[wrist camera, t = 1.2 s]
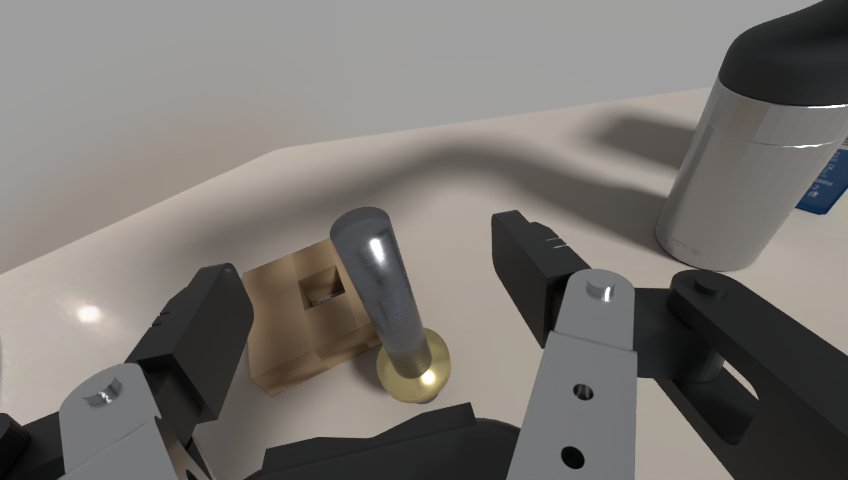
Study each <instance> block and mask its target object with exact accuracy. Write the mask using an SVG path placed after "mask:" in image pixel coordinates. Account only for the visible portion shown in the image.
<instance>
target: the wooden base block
mask: <svg viewBox="0 0 848 480" xmlns="http://www.w3.org/2000/svg"><path fill="white" fill-rule="evenodd" d="M243 283H244V288H245V290H246V292H247V294H248V296H249V298H250V300H251V303H252V305H253V310H254V322H253V325H252V328H251V330H250V333H249V336H248V338H247V341H248V355H249V369H250V379H251V380H252V381H253V382H254V383H256V384H257V385H258V386H259V387H260V388H261V389H263V390H264V391H265V392H266V393H267V394H269V395H270V396H271V397H272V396H274V395H276V394H278V393H280V392H282V391H284V390H286V389H288V388H290V387H292V386H294V385H296V384H298V383H300V382H303V381H305V380H307V379H309V378H311V377H313V376H315V375H317V374H319V373H321V372H323V371H325V370H327V369H329V368H331V367H334V366H336V365H338V364H340V363H342V362H344V361H346V360H348V359H350V358H352V357H354V356H356V355H358V354H360V353H362V352H365V351H367V350H369V349H371V348H373V347H375V346H377V345H379V344H381V341H380V338H379V336H378V334H377V332H376V330H375V328H374V326H373V324H372V322H371V320H370V318H369V316H368V314H367V312H366V310H365V308H364V306H363V304H362V302H361V300H360V298H359V296H358V294H357V292H356V290H355V288H354V286H353V284H352V282H351V280H350V278H349V275H348V273H347V271H346V269H345V267H344V265H343V263H342V261H341V259H340V257H339V255H338V253H337V251H336V249H335V247H334V245H333V243H332V241H331V239H330V238H328V239H326V240H323V241H321V242H319V243H316V244H314V245H311V246H309V247H306V248H304V249H302V250H299V251H297V252H294V253H292V254H289V255H287V256H285V257H282V258H280V259H277V260H275V261H272V262H270V263H268V264H265V265H263V266H260V267H258V268H255V269H253V270H251V271H248V272H246V273H243ZM343 288H344V289H345V293H343V294H341V295H338V296H336V297H334V298H332V299H329V300H327V301H325V302H323V303H320V304H318V305H316V306H314V307H313V305H312V302H313V301H316V300H318V299H320V298H322V297H325V296H327V295H329V294H331V293H334V292H336V291H338V290H340V289H343Z"/></svg>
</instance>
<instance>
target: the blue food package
mask: <svg viewBox="0 0 848 480" xmlns="http://www.w3.org/2000/svg"><path fill="white" fill-rule="evenodd" d="M847 188H848V136H847V138H846V139H845V140H844V142H843V143H842V144H841V146H840V147H839V148H838V150H837V151H836V152H835V154H834V155H833V156H832V158H831V159H830V161H829V162H828V163H827V165H826V166H825V167H824V169H823V170H822V171H821V173H820V174H819V175H818V177H817V178H816V179H815V181H814V182H813V183H812V185H811V186H810V187H809V189H808V190H807V191H806V193H805V194H804V196H803V197H802V198H801V200H800V201H799V202H798V204H797V205H796V206H795V207H799V208H802V209H805V210H809V211H812V212H816V213H819V214H826V213H827V212H828V211H829V210H830V209H831V207H832V206H833V205H834V204H835V203H836V202H837V200H838V199H839V198H840V197H841V196H842V194H843V193H844V192H845V191H846V190H847Z"/></svg>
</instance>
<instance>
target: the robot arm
mask: <svg viewBox="0 0 848 480" xmlns="http://www.w3.org/2000/svg"><path fill="white" fill-rule="evenodd" d="M847 136H848V0H823V1H821V2H819V3H816V4H814V5H812V6H810V7H807V8H805V9H802V10H800V11H797V12H794V13H791V14H789V15H785V16H782V17H780V18H776V19H774V20H771V21H768V22H764V23H762V24H759V25H757V26H755V27H752V28H750V29H748V30H747V31H745V32H744V33H742V34H741V35H739V36H738V37H737V38H736V39H735V40H734V42H733V43H732V44H731V46H730V47H729V49H728V51H727V54H726V56H725V58H724V61H723V63H722V66H721V68H720V71H719V74H718V76H717V79H716V81H715V84H714V86H713V88H712V91H711V93H710V96H709V98H708V101H707V103H706V106H705V108H704V111H703V113H702V116H701V118H700V121H699V123H698V126H697V128H696V131H695V133H694V135H693V138H692V140H691V143H690V145H689V148H688V150H687V152H686V155H685V157H684V160H683V162H682V165H681V167H680V170H679V172H678V174H677V177H676V179H675V182H674V184H673V187H672V189H671V191H670V194H669V196H668V199H667V201H666V203H665V206H664V208H663V211H662V213H661V216H660V218H659V221H658V223H657V226H656V230H655V232H656V238H657V240H658V242H659V244H660V245H661V246H662V247H663V248H664V250H666V251H667V252H668V253H669V254H670V255H672V256H673V257H675V258H677V259H678V260H680V261H682V262H684V263H687V264H689V265H691V266H695V267H698V268H701V269H706V270H712V271H733V270H738V269H742V268H745V267H747V266H749V265H750V264H752V263H753V262H754V261H755V260H756V258H757V257H758V256H759V254H760V253H761V252H762V250H763V249H764V248H765V246H766V245H767V244H768V242H769V241H770V240H771V238H772V237H773V236H774V234H775V233H776V232H777V231H778V229H779V228H780V227H781V225H782V224H783V222H784V221H785V220H786V218H787V217H788V216H789V214H790V213H791V212H792V210H793V209H794V208H795V206H796V205H797V204H798V202H799V201H800V200H801V198H802V197H803V196H804V194H805V193H806V191H807V190H808V189H809V187H810V186H811V185H812V183H813V182H814V181H815V179H816V178H817V177H818V175H819V174H820V173H821V171H822V170H823V169H824V167H825V166H826V165H827V163H828V162H829V161H830V159H831V158H832V156H833V155H834V154H835V152H836V151H837V150H838V148H839V147H840V146H841V144H842V143H843V142H844V140H845V139H846V138H847ZM491 226H492V258H493V264H494V268H495V271H496V273H497V275H498V277H499V279H500V280H501V282H502V284H503V285H504V287H505V289H506V290H507V292H508V294H509V295H510V297H511V299H512V300H513V302H514V304H515V305H516V307H517V308H518V310H519V312H520V313H521V315H522V317H523V318H524V320H525V322H526V323H527V325H528V327H529V328H530V330H531V332H532V333H533V335H534V337H535V338H536V340H537V342H538V343H539V345H540V347H541V348H542V349H544V348H545V349H544V352H543V356H542V359H541V362H540V366H539V369H538V373H537V376H536V380H535V383H534V386H533V390H532V393H531V397H530V400H529V403H528V407H527V410H526V414H525V417H524V420H523V424H522V427H521V428H518V427H516V426H513V425H511V424H508V423H505V422H501V421H498V420H493V419H486V418H475V416H474V412H473V409H472V406H471V403H470V402H468V403H464V404H460V405H455V406H451V407H447V408H442V409H438V410H434V411H429V412H425V413H421V414H419V415H417V416H415V417H413V418H411V419H409V420H407V421H405V422H403V423H401V424H399V425H397V426H395V427H393V428H391V429H389V430H387V431H385V432H383V433H381V434H379V435H377V436H375V437H372V438H334V437H316V438H312V439H308V440H303V441H299V442H294V443H290V444H286V445H281V446H277V447H273V448H268V449H266V452H265V456H264V461H263V465H262V469H261V470H259V471H257V472H255V473H253V474H252V475H250V476H248V477H247V478H245V479H244V480H634V477H635V436H636V396H637V377H639V378H654V380H655V381H656V382H657V383H658V385H659V386H660V387H661V388H662V390H663V391H664V392H665V393H666V395H667V396H668V397H669V398H670V400H671V401H672V402H673V403H674V405H675V406H676V407H677V408H678V410H679V411H680V412H681V413H682V415H683V416H684V417H685V418H686V420H687V421H688V422H689V423H690V425H691V426H692V427H693V428H694V430H695V431H696V432H697V433H698V435H699V436H700V437H701V438H702V440H703V441H704V442H705V443H706V445H707V446H708V447H709V448H710V450H711V451H712V452H713V453H714V455H715V456H716V457H717V458H718V460H719V461H720V462H721V463H722V465H723V466H724V467H725V468H726V470H727V471H728V472H729V473H730V475H731V476H732V477H733V478H734V480H848V356H847V355H845V354H844V353H843V352H841V351H840V350H838V349H837V348H835V347H834V346H832V345H831V344H829V343H828V342H826V341H825V340H823V339H822V338H820V337H819V336H818V335H816V334H815V333H813V332H812V331H810V330H809V329H807V328H806V327H804V326H803V325H801V324H800V323H798V322H797V321H796V320H794V319H793V318H791V317H790V316H788V315H787V314H785V313H784V312H782V311H781V310H779V309H778V308H776V307H775V306H773V305H772V304H771V303H769V302H768V301H766V300H765V299H763V298H762V297H760V296H759V295H757V294H756V293H754V292H753V291H751V290H750V289H748V288H747V287H746V286H744V285H743V284H741V283H740V282H738V281H736V280H734V279H732V278H730V277H728V276H725V275H723V274H719V273H716V272H712V271H706V270H685V271H681V272H678V273H677V274H675V275H674V276H673V278H672V281H671V285H670V288H669V289H663V288H634V287H633V285H632V284H631V283H630V282H629V281H628V280H627V279H626V278H624V277H623V276H621V275H619V274H617V273H614V272H611V271H607V270H602V269H592V268H591V267H590V266H589V265H588V264H587V263H586V262H585V261H583V260H582V259H581V258H580V257H579V256H578V255H577V254H576V253H575V252H574V251H573V250H572V249H571V248H570V247H569V246H567V245H566V243H565V242H564V241H563V240H562V239H559V236H558V235H556V234H555V233H554V232H553V231H552V230H551V229H550V228H549V227H546V226H544V225H542V224H540V223H537V222H532V223H529V222H528V221H527V220H526V219H525V218H524V217H523V215H522V214H521V213H520V212H519V211H518V210H513V211H507V212H502V213H497V214H493V215H492V220H491ZM253 322H254V310H253V305H252V303H251V300H250V298H249V296H248V294H247V292H246V290H245V288H244V286H243V284H242V281H241V279H240V277H239V275H238V273H237V271H236V269H235V267H234V266H233V265H232V264H230V263H225V264H219V265H214V266H208V267H203V268H201V269H200V270H199V271H198V272H197V274H196V275H195V277H194V278H193V279H192V281H191V282H190V284H189V285H188V287H186V288H184V289H183V290H182V291H180V292H179V293H178V294H177V295H175V296H174V297H173V298H172V299H170V300H169V302H168V303H167V304H166V306H165V307H164V308H163V310H162V311H161V313H160V316H158V317H157V318H156V319H155V321H154V322H153V324H152V327H150V328H149V329H148V330H147V332H146V333H145V335H144V336H143V337H142V339H141V340H140V341H139V343H138V344H137V345H136V347H135V348H134V350H133V351H132V352H131V354H130V355H129V356H128V358H127V359H126V361H125V362H124V363H123V364H119V365H116V366H113V367H110V368H107V369H105V370H103V371H101V372H99V373H97V374H95V375H94V376H92V377H90V378H89V379H87V380H86V381H84V382H83V383H82V384H80V385H79V386H78V387H77V388H76V389H74V390H73V391H72V392H71V393H70V394H69V395H68V397H67V398H66V399H65V400H64V402H63V403H62V405H61V407H60V410H59V411H58V412H55V413H53V414H50V415H48V416H46V417H43V418H41V419H38V420H36V421H34V422H31V423H29V424H26V425H24V426H21V425H20V424H19V423H17V422H16V421H15V420H14V419H13V418H12V417H10V416H9V415H8V414H5V413H0V480H216V478H215V476H214V474H213V472H212V470H211V468H210V466H209V464H208V462H207V459H206V457H205V455H204V453H203V451H202V449H201V447H200V445H199V443H198V441H197V440H196V438H195V437H194V436H193V435H192V433H193V430H194V428H195V426H196V424H199V423H203V422H208V421H213V420H217V419H218V417H219V414H220V411H221V408H222V406H223V403H224V400H225V398H226V395H227V392H228V390H229V387H230V384H231V382H232V379H233V376H234V373H235V371H236V368H237V365H238V363H239V360H240V357H241V355H242V352H243V349H244V347H245V344H246V341H247V338H248V336H249V333H250V330H251V328H252V325H253ZM725 360H726V361H727V362H728V363H729V364H730V365H732V366H733V367H734V368H735V369H736V370H737V371H738V372H739V373H740V374H741V375H742V376H743V377H744V378H745V379H746V380H747V381H748V382H749V383H750V384H751V385H752V387H753V388H754V390H755V392H756V393H757V396H758V399H759V400H758V399H756V398H755V397H754V396H753V395H752V394H751V393H750V392H749V391H748V390H747V389H746V388H745V387H744V386H743V385H742V384H741V383H740V382H739V381H738V380H737V379H736V378H735V377H734V376H733V375H731V374H730V373H729V372H728V371H727V370H726V369H725V368H724V367H723V363H724V361H725Z"/></svg>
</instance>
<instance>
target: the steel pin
mask: <svg viewBox="0 0 848 480" xmlns="http://www.w3.org/2000/svg"><path fill="white" fill-rule="evenodd" d="M330 239H331V241H332V243H333V245H334V247H335V249H336V251H337V253H338V255H339V257H340V259H341V261H342V263H343V265H344V267H345V269H346V271H347V273H348V275H349V278H350V280H351V282H352V284H353V286H354V288H355V290H356V292H357V294H358V296H359V298H360V300H361V302H362V304H363V306H364V308H365V310H366V312H367V314H368V316H369V318H370V320H371V322H372V324H373V326H374V328H375V330H376V332H377V334H378V336H379V338H380V341H381V343H382V345H383V346H382V347H381V349H380V351H379V354H378V357H377V362H376V369H377V374H378V377H379V380H380V382H381V383H382V385H383V387H384V388H385V390H386V391H387V392H388V394H389V395H391V396H392V397H393V398H395V399H396V400H398V401H401V402H404V403H417V404H426V403H429V402H431V401H433V400H434V399H435V398H436V397H437V395H438V393H439V392H440V391H441V390H442V388H443V387H444V386H445V384H446V382H447V380H448V378H449V375H450V370H451V361H450V356H449V351H448V348H447V346H446V343H445V342H444V340H443V339H442V338H441V337H440V336H439V335H438V334H437V333H436V332H434V331H432V330H430V329H427V328H423V325H422V322H421V319H420V316H419V312H418V309H417V306H416V303H415V299H414V296H413V293H412V290H411V286H410V283H409V280H408V277H407V273H406V270H405V267H404V264H403V261H402V257H401V254H400V251H399V248H398V244H397V241H396V238H395V235H394V231H393V228H392V225H391V222H390V218H389V216H388V214H387V213H386V212H385V211H383V210H381V209H379V208H375V207H363V208H358V209H355V210H352V211H350V212H347V213H346V214H344V215H342V216H341V217H340V218H339V219H338V220H337V221H336V222H335V223H334V224H333V226H332V228H331V230H330Z"/></svg>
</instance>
